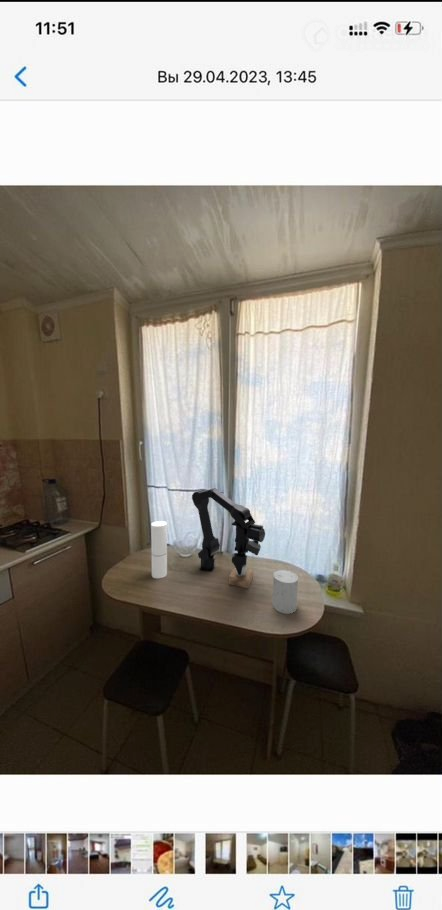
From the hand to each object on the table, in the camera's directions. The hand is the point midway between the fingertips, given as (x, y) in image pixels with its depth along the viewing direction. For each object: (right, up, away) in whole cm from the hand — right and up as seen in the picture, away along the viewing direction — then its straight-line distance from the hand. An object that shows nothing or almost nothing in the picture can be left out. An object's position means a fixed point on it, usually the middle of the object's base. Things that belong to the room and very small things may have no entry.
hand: (241, 568), depth 114 cm
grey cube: (0, -2, 0) cm, 2 cm away
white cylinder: (+16, -8, -15) cm, 23 cm away
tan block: (0, -6, +1) cm, 6 cm away
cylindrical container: (-39, -5, +5) cm, 40 cm away
